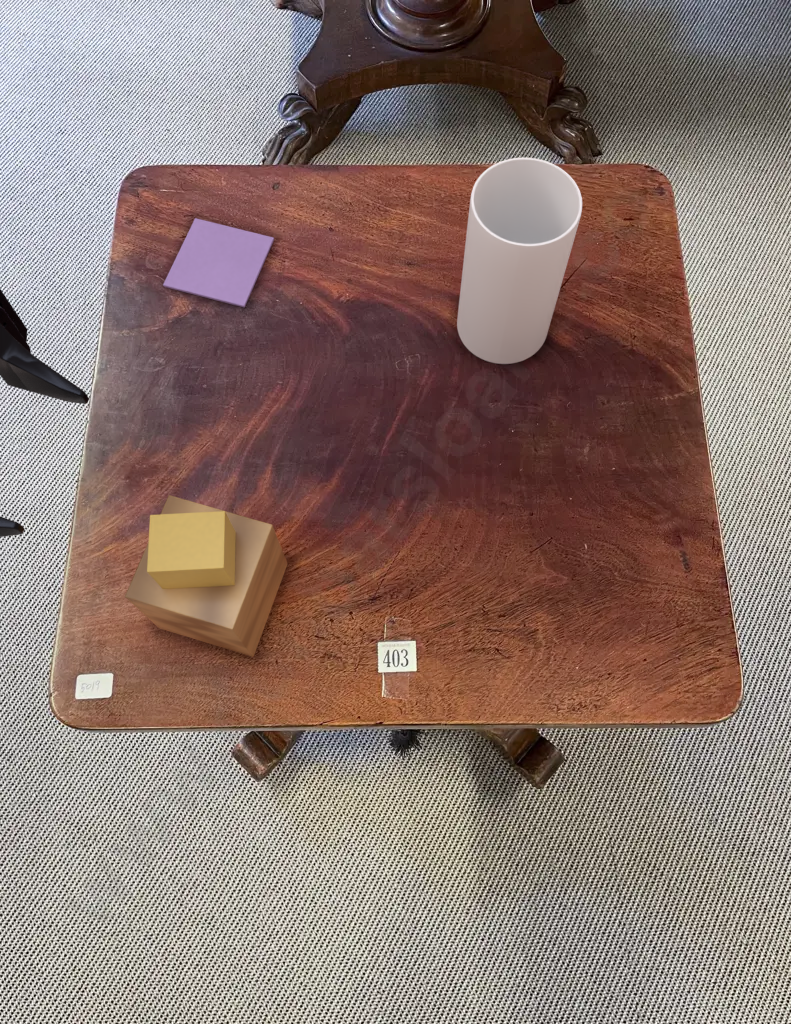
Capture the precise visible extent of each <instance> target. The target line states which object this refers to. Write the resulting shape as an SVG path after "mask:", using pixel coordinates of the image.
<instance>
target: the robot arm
mask: <svg viewBox="0 0 791 1024" xmlns="http://www.w3.org/2000/svg"><path fill="white" fill-rule="evenodd" d="M27 341H28V328H27V326H26V325H25V324H24V322H23V320H22V319H21V317H20V316H19V315H18V313H17V311H16V310H15V308H14V307H13V306H12V304H11V302H10V301H9V300H8V298H7V297H6V294H5V293H4V292H3V290H2V289H1V288H0V377H1V378H2V380H3V381H4V382H5V383H6V385H7V386H9V387H13V388H16V389H19V390H23V391H28V392H29V393H30V392H31V393H35V394H38V395H42V396H45V397H48V398H53V399H56V400H59V401H63V402H67V403H73V404H81V405H82V404H83V405H87V404H88V403H89V401H90V398H89V396H88V394H87V393H86V392H85V391H84V390H83V389H82V388H80V387H79V386H78V385H76V384H75V383H73V382H72V381H70V380H69V379H67V378H66V377H64V376H63V375H62V374H61V373H59V372H58V371H57V370H55V369H53V368H52V367H51V366H49V365H48V364H47V363H45V362H43V361H42V360H40V359H39V358H38V357H36V356H35V355H34V354H32V353H31V352H32V350H31V346H30V345H29V344H28V342H27ZM25 529H26V528H25V527H24V526H23V525H22V524H21V523H20V522H17V521H15V520H12V519H9V518H6V517H3V516H0V538H3V537H12V536H13V537H14V536H21V535H23V534H24V532H25Z"/></svg>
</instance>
